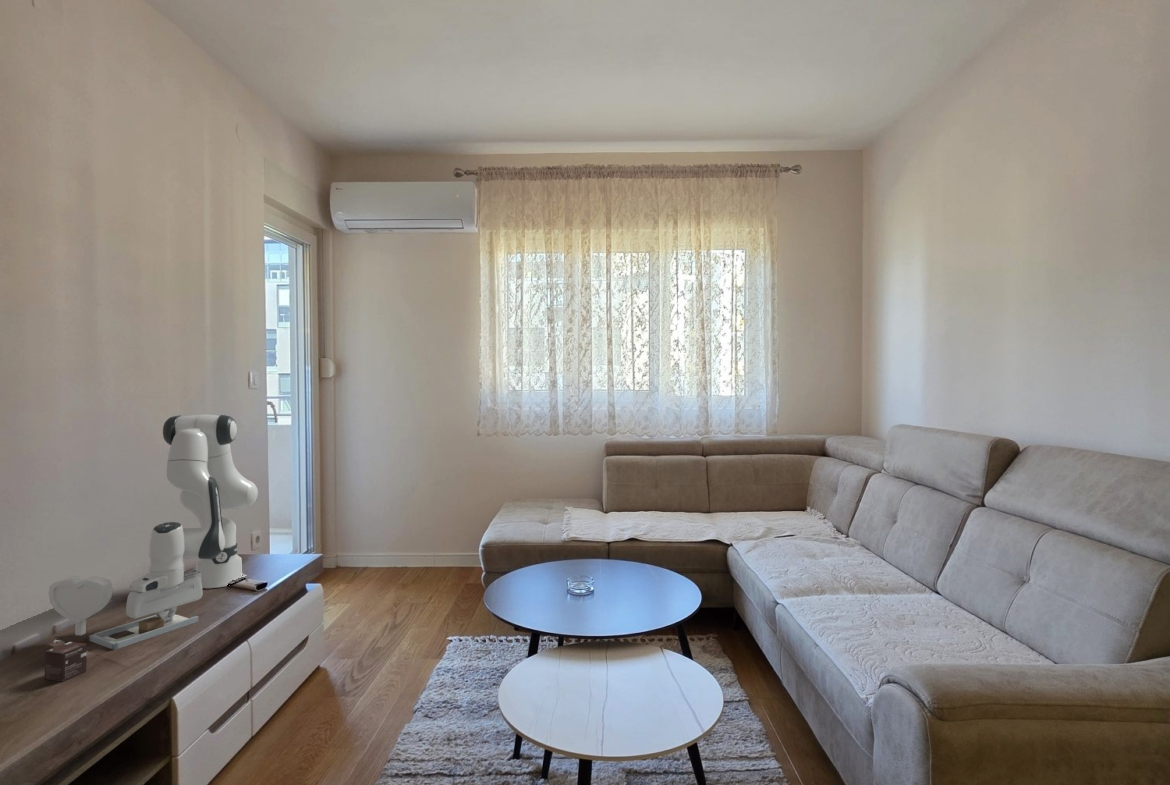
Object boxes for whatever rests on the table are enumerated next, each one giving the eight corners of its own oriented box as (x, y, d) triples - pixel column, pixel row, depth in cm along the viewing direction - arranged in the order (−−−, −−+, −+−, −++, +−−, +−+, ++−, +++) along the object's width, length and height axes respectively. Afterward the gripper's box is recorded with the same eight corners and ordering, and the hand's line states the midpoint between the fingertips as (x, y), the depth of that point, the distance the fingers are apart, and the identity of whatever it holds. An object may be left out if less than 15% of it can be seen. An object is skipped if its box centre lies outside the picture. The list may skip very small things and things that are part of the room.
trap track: (113, 655, 165) (114, 644, 165) (88, 645, 171) (88, 635, 171) (198, 626, 186) (198, 616, 186) (173, 618, 192) (173, 609, 192)
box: (62, 682, 150) (62, 653, 150) (43, 679, 151) (43, 650, 151) (87, 671, 156) (87, 643, 156) (68, 668, 157) (69, 641, 157)
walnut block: (147, 636, 174) (147, 624, 174) (138, 633, 176) (138, 621, 176) (163, 630, 178) (164, 619, 178) (154, 627, 180) (155, 616, 180)
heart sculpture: (45, 642, 172) (46, 580, 172) (60, 635, 177) (60, 575, 177) (101, 642, 173) (102, 580, 173) (114, 635, 178) (114, 575, 178)
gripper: (195, 567, 192) (194, 610, 192) (123, 585, 173) (122, 632, 173) (207, 570, 189) (206, 613, 189) (135, 588, 170) (135, 637, 170)
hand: (165, 623), depth 181 cm, fingers closed
